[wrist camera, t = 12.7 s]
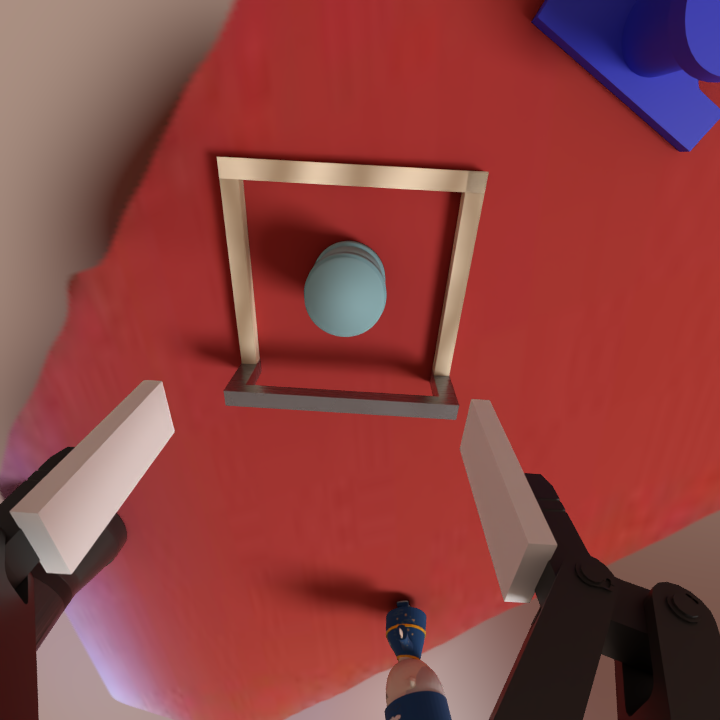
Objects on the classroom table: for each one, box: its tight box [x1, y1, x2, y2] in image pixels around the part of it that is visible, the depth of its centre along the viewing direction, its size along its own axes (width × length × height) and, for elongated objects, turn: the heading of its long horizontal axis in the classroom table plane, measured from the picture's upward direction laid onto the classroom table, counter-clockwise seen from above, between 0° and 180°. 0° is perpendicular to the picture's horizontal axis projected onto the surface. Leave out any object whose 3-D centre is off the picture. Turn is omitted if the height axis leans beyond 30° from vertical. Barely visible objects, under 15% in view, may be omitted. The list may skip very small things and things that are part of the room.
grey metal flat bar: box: [224, 359, 459, 420], centre depth 36 cm, size 21×2×6 cm, turn 87°
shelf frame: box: [217, 157, 489, 376], centre depth 34 cm, size 21×20×1 cm
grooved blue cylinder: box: [304, 241, 386, 337], centre depth 31 cm, size 6×6×7 cm
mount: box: [532, 0, 720, 152], centre depth 22 cm, size 15×8×9 cm, turn 59°
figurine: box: [385, 601, 452, 720], centre depth 51 cm, size 13×9×20 cm
